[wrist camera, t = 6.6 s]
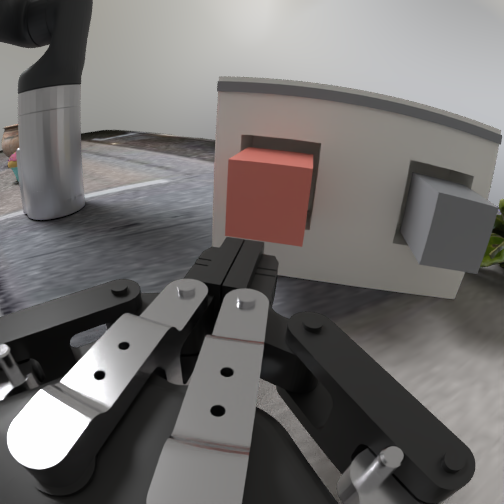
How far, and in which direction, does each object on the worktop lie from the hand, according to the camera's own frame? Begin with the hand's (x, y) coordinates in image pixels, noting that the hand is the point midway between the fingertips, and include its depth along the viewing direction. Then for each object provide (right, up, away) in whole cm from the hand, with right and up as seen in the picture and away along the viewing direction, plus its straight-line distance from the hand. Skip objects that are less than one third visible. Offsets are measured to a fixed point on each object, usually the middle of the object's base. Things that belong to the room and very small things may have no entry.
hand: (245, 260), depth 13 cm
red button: (+2, +2, +10) cm, 10 cm away
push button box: (+9, -1, +17) cm, 20 cm away
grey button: (+14, 0, +8) cm, 17 cm away
